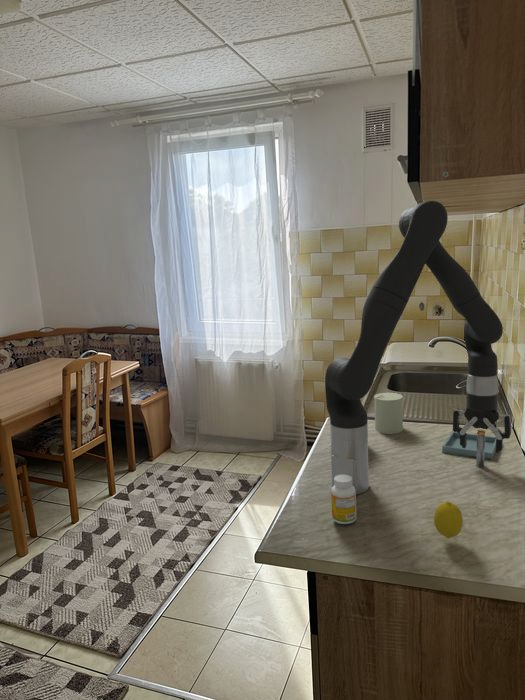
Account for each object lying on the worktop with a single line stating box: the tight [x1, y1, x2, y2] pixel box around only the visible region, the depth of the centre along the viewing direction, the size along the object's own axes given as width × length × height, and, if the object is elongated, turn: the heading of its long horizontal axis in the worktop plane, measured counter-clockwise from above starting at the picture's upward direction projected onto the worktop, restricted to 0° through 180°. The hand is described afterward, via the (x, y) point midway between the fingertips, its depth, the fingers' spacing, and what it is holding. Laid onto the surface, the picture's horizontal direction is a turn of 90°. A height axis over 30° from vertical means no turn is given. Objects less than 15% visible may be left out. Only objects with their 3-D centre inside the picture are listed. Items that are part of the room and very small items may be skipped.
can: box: [373, 392, 404, 435], centre depth 167 cm, size 9×9×12 cm
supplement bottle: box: [330, 475, 357, 525], centre depth 113 cm, size 5×5×10 cm
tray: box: [441, 431, 497, 461], centre depth 149 cm, size 13×13×2 cm
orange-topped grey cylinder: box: [475, 429, 486, 469], centre depth 136 cm, size 2×2×10 cm
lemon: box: [433, 500, 464, 539], centre depth 104 cm, size 6×6×8 cm
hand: (480, 449), depth 136 cm, fingers open, 8 cm apart
